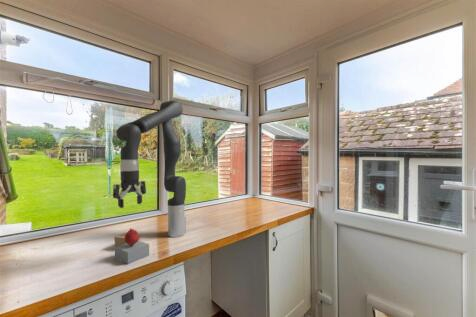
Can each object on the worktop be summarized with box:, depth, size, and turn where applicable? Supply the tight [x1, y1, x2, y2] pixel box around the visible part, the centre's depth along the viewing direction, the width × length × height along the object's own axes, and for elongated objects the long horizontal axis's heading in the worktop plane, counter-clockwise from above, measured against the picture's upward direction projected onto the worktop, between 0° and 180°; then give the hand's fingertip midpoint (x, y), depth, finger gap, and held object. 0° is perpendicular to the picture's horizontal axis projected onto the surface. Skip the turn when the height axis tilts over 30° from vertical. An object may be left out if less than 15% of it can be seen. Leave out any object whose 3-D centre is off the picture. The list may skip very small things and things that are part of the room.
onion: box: [125, 227, 140, 246], centre depth 99 cm, size 6×6×8 cm
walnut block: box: [114, 231, 128, 248], centre depth 110 cm, size 7×7×6 cm
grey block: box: [114, 240, 150, 265], centre depth 99 cm, size 10×10×5 cm
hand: (130, 205), depth 100 cm, fingers open, 8 cm apart
